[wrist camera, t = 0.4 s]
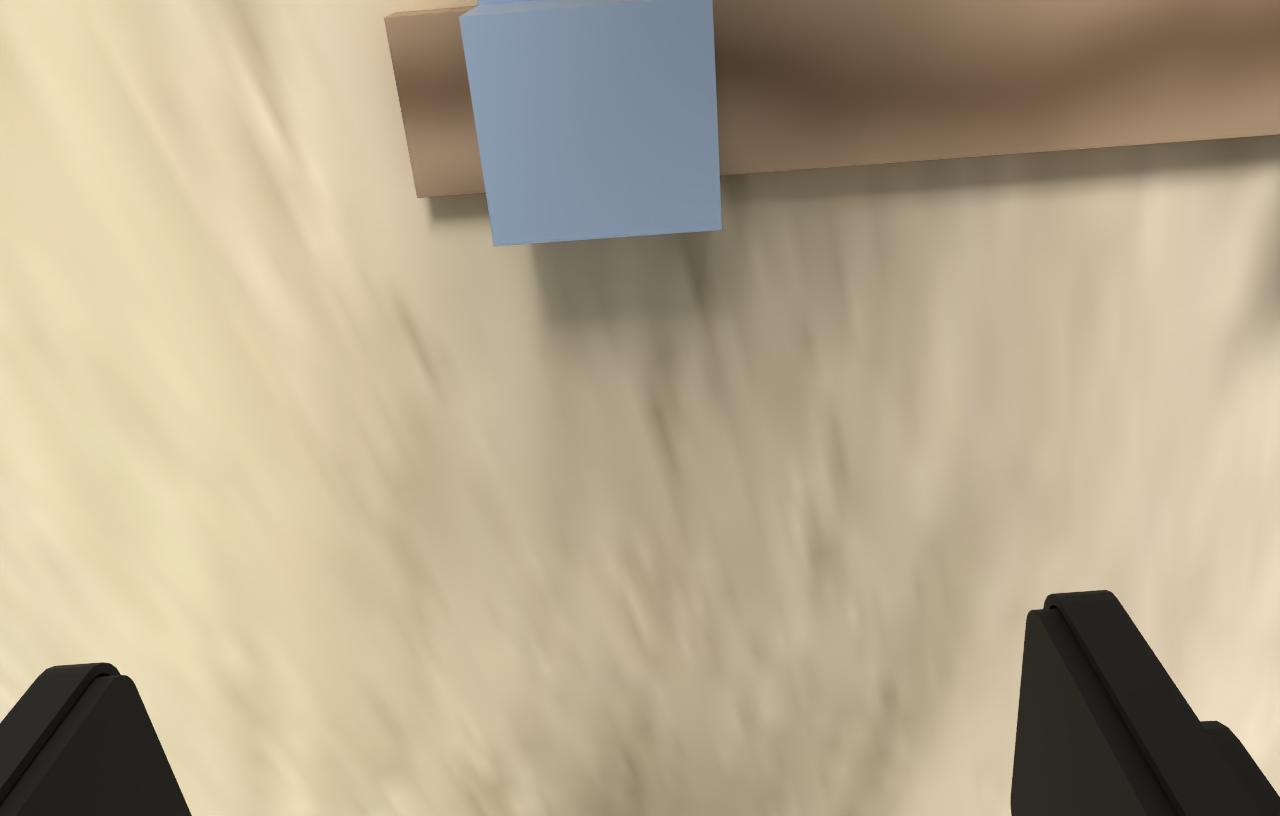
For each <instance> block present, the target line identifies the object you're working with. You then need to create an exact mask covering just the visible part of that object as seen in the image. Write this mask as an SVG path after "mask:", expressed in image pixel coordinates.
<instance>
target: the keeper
mask: <svg viewBox="0 0 1280 816" xmlns="http://www.w3.org/2000/svg"><path fill="white" fill-rule="evenodd" d="M459 21H460V27H461V34H462V40H463V47H464V53H465V60H466V67H467V73H468V80H469V86H470V93H471V99H472V106H473V112H474V119H475V126H476V132H477V139H478V145H479V152H480V158H481V165H482V171H483V178H484V185H485V191H486V198H487V204H488V211H489V217H490V224H491V230H492V237H493V244H494V246H504V245H518V244H532V243H546V242H560V241H574V240H588V239H602V238H616V237H631V236H645V235H659V234H673V233H687V232H701V231H715V230H722V218H721V193H720V169H719V145H718V121H717V97H716V73H715V49H714V25H713V0H478V6H476V7H474V8H473V9H471V10H469V11H468V12H466V13H464V14H463V15H461V16H460V17H459Z"/></svg>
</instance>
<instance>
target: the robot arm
mask: <svg viewBox="0 0 1280 816" xmlns="http://www.w3.org/2000/svg"><path fill="white" fill-rule="evenodd" d="M1011 814H1012V816H1280V797H1279V796H1278V794H1277V793H1276V791H1275V790H1274V788H1273V787H1272V786H1271V784H1270V783H1269V781H1268V780H1267V779H1266V777H1265V776H1264V774H1263V773H1262V771H1261V770H1260V769H1259V767H1258V766H1257V764H1256V763H1255V762H1254V760H1253V759H1252V757H1251V756H1250V754H1249V753H1248V752H1247V750H1246V749H1245V747H1244V746H1243V745H1242V743H1241V742H1240V740H1239V739H1238V738H1237V737H1236V736H1235V735H1234V734H1233V732H1232V731H1231V730H1230V729H1229V728H1228V727H1226V726H1225V725H1223V724H1221V723H1220V722H1218V721H1202V722H1200V721H1199V719H1198V718H1197V716H1196V715H1195V713H1194V712H1193V710H1192V709H1191V707H1190V706H1189V704H1188V703H1187V701H1186V700H1185V698H1184V697H1183V695H1182V694H1181V692H1180V691H1179V690H1178V688H1177V687H1176V685H1175V684H1174V682H1173V681H1172V679H1171V678H1170V676H1169V675H1168V673H1167V672H1166V670H1165V669H1164V667H1163V666H1162V664H1161V663H1160V661H1159V660H1158V658H1157V657H1156V655H1155V654H1154V652H1153V651H1152V649H1151V648H1150V646H1149V645H1148V643H1147V642H1146V640H1145V639H1144V638H1143V636H1142V635H1141V633H1140V632H1139V630H1138V629H1137V627H1136V626H1135V624H1134V623H1133V621H1132V620H1131V618H1130V617H1129V615H1128V614H1127V612H1126V611H1125V609H1124V608H1123V606H1122V605H1121V603H1120V602H1119V600H1118V599H1117V598H1116V597H1115V596H1114V594H1113V593H1112V592H1110V591H1107V590H1099V591H1085V592H1072V593H1058V594H1051V595H1048V596H1047V598H1046V600H1045V603H1044V608H1043V609H1041V610H1031V611H1029V613H1028V615H1027V620H1026V630H1025V641H1024V652H1023V664H1022V675H1021V686H1020V698H1019V709H1018V721H1017V732H1016V743H1015V755H1014V766H1013V777H1012V789H1011ZM0 816H192V815H191V813H190V811H189V808H188V806H187V804H186V801H185V799H184V797H183V794H182V792H181V790H180V788H179V785H178V783H177V781H176V778H175V776H174V774H173V771H172V769H171V767H170V764H169V762H168V760H167V757H166V755H165V753H164V750H163V748H162V746H161V743H160V741H159V739H158V737H157V734H156V732H155V730H154V727H153V725H152V723H151V720H150V718H149V716H148V713H147V711H146V709H145V706H144V704H143V702H142V699H141V697H140V695H139V692H138V690H137V688H136V686H135V684H134V682H133V681H132V679H131V678H129V677H128V676H125V675H121V674H120V673H119V671H118V670H117V668H116V667H114V666H113V665H112V664H110V663H90V664H76V665H62V666H53V667H51V668H48V669H46V670H45V671H44V672H43V673H42V674H41V675H40V676H38V678H37V679H36V680H35V681H34V683H33V684H32V685H31V686H30V687H29V689H28V690H27V691H26V692H25V694H24V695H23V696H22V697H21V698H20V700H19V701H18V702H17V703H16V705H15V706H14V707H13V708H12V710H11V711H10V712H9V713H8V714H7V716H6V717H5V718H4V719H3V721H2V722H1V723H0Z"/></svg>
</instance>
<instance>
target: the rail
mask: <svg viewBox="0 0 1280 816" xmlns="http://www.w3.org/2000/svg"><path fill="white" fill-rule="evenodd" d="M474 7H476V6H472V7H460V8H448V9H436V10H424V11H412V12H400V13H394V14H391V15H389V16H387V17H385V18H384V20H385V26H386V31H387V36H388V42H389V47H390V53H391V58H392V63H393V69H394V74H395V80H396V85H397V90H398V96H399V101H400V107H401V112H402V117H403V123H404V128H405V134H406V139H407V144H408V150H409V155H410V161H411V166H412V171H413V177H414V182H415V188H416V193H417V198H423V197H437V196H450V195H464V194H477V193H486V191H485V185H484V178H483V171H482V165H481V158H480V152H479V145H478V139H477V132H476V126H475V119H474V112H473V106H472V99H471V93H470V86H469V80H468V73H467V67H466V60H465V53H464V47H463V40H462V34H461V27H460V21H459V17H460V16H461V15H463V14H464V13H466V12H468V11H469V10H471V9H473V8H474ZM713 25H714V49H715V73H716V97H717V121H718V145H719V169H720V176H722V175H735V174H749V173H762V172H776V171H789V170H803V169H817V168H830V167H844V166H857V165H871V164H884V163H898V162H912V161H925V160H939V159H952V158H966V157H979V156H993V155H1007V154H1020V153H1034V152H1047V151H1061V150H1074V149H1088V148H1101V147H1115V146H1129V145H1142V144H1156V143H1169V142H1183V141H1196V140H1210V139H1224V138H1237V137H1251V136H1264V135H1278V134H1280V0H713Z"/></svg>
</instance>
